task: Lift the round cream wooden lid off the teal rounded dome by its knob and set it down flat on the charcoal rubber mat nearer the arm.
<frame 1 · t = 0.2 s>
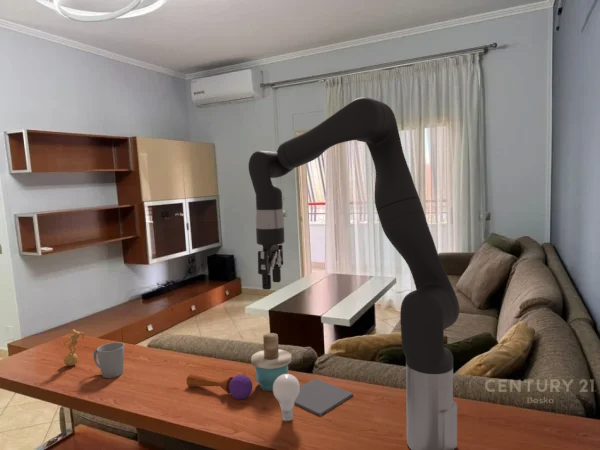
hand: (272, 285, 115), 28 cm above the table, tool pointing down, fingers open, 8 cm apart
teal rounded dome: (272, 384, 117), on the table
cup: (109, 374, 127), on the table
mat: (317, 396, 109), on the table
figurine: (73, 366, 134), on the table
lid: (271, 360, 116), point 7 cm above the table, touching teal rounded dome
lightbulb: (287, 421, 99), on the table
kendama: (219, 393, 114), on the table
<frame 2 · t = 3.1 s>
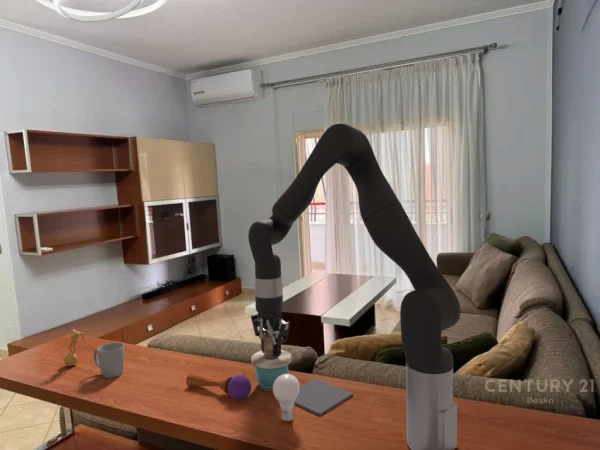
hand: (271, 354, 116), 9 cm above the table, tool pointing down, fingers closed on lid, 4 cm apart
lid: (271, 360, 116), point 7 cm above the table, touching teal rounded dome, gripper
everything else where it was.
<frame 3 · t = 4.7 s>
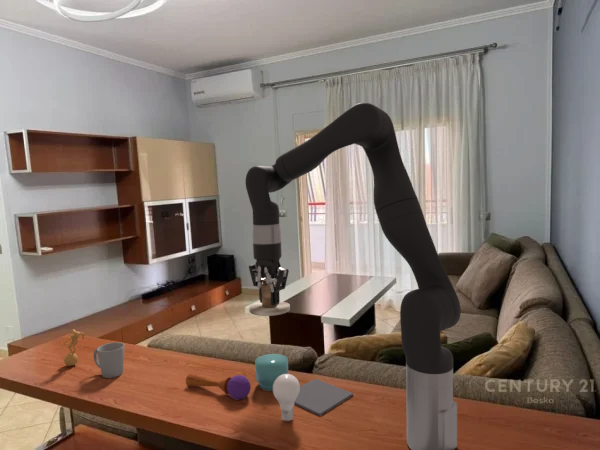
hand: (269, 303, 115), 23 cm above the table, tool pointing down, fingers closed on lid, 4 cm apart
lid: (269, 309, 115), point 21 cm above the table, touching gripper
everything else where it was.
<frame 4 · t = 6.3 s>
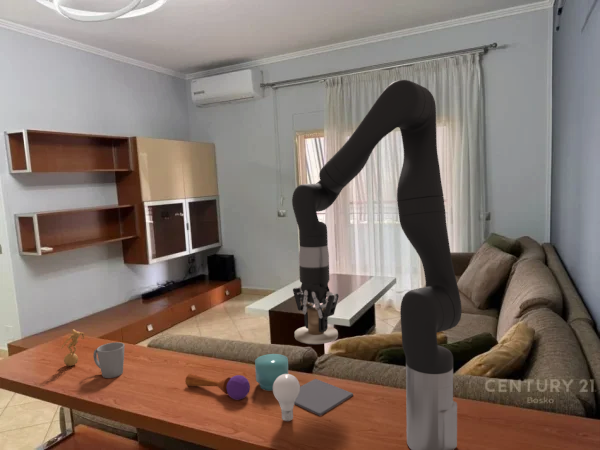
hand: (315, 329, 108), 18 cm above the table, tool pointing down, fingers closed on lid, 4 cm apart
lid: (316, 336, 108), point 16 cm above the table, touching gripper
everything else where it was.
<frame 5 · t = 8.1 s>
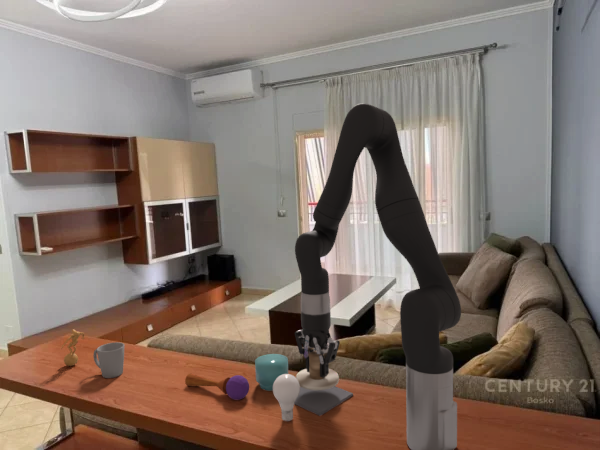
hand: (317, 373, 109), 6 cm above the table, tool pointing down, fingers closed on lid, 4 cm apart
lid: (317, 380, 109), point 4 cm above the table, touching gripper
everything else where it was.
when the fingers open (3 cm above the table, at t = 9.6 s): lid stays where it is, resting on mat.
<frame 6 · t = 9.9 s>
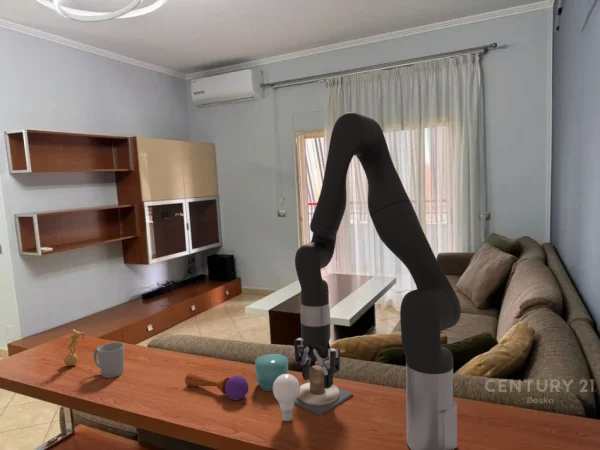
hand: (317, 382, 109), 4 cm above the table, tool pointing down, fingers open, 6 cm apart
lid: (317, 394, 109), point 1 cm above the table, touching mat
everything else where it was.
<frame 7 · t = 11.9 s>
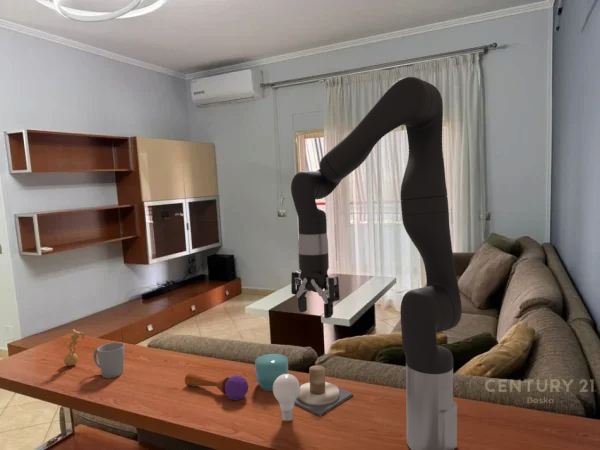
hand: (315, 314, 107), 22 cm above the table, tool pointing down, fingers open, 8 cm apart
nothing on the table moved.
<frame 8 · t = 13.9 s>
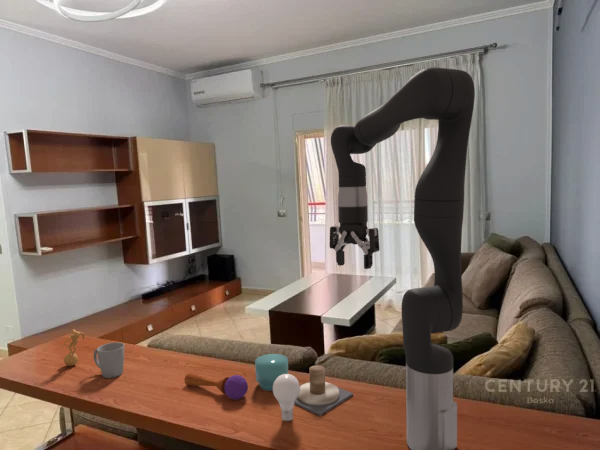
hand: (353, 266, 110), 33 cm above the table, tool pointing down, fingers open, 8 cm apart
nothing on the table moved.
at the end: lid inside the target area on the mat (0.1 cm from its centre), point 0.6 cm above the mat's base; lid tilted 0°; the gripper is holding nothing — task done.
